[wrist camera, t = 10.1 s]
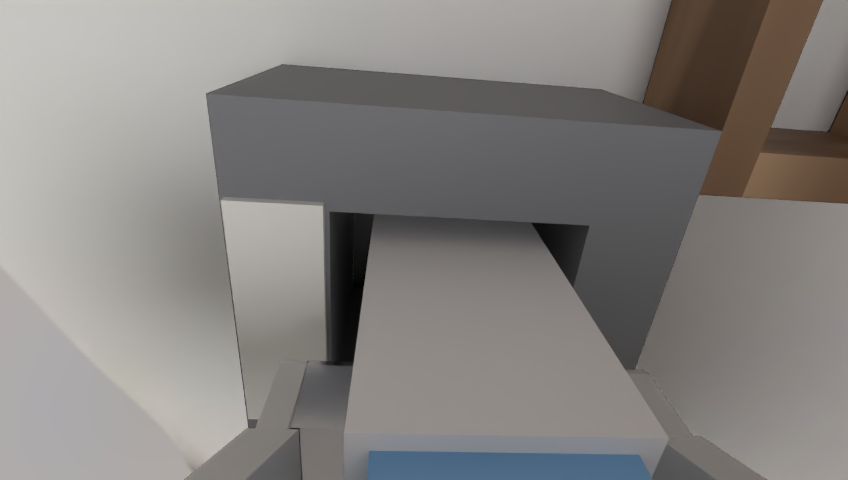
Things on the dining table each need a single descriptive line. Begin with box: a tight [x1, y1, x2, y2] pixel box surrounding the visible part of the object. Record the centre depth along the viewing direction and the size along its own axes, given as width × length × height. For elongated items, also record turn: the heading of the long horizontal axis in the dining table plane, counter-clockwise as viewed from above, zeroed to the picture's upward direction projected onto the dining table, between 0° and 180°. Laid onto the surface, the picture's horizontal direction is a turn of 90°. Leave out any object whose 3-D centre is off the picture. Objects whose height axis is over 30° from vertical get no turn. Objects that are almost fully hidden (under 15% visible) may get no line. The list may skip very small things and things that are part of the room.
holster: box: [643, 0, 848, 204], centre depth 12 cm, size 8×8×4 cm
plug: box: [344, 214, 669, 480], centre depth 10 cm, size 4×4×12 cm
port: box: [206, 64, 722, 428], centre depth 13 cm, size 10×10×6 cm
